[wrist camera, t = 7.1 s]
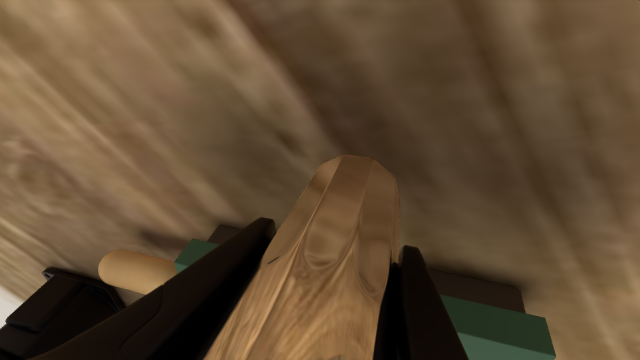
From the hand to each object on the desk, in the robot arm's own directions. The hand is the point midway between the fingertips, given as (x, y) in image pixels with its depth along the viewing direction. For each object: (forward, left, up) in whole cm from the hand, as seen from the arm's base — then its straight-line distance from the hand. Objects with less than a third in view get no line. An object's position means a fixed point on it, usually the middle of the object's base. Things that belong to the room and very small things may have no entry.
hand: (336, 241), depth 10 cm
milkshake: (0, 0, -3) cm, 3 cm away
